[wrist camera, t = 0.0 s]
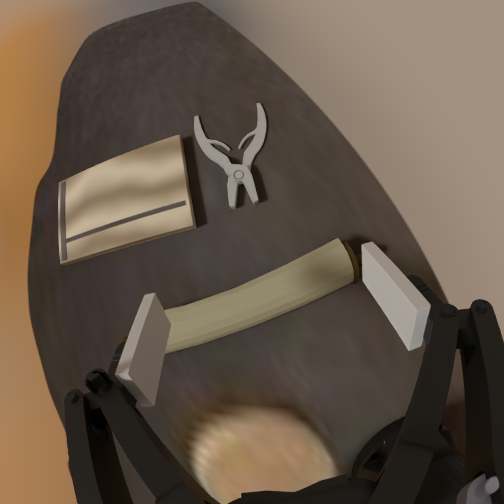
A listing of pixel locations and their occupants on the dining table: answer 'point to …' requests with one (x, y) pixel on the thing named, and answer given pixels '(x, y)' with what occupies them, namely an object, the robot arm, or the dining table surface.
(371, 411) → the dining table surface
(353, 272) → the rolling pin
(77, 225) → the marking board
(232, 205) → the pliers
